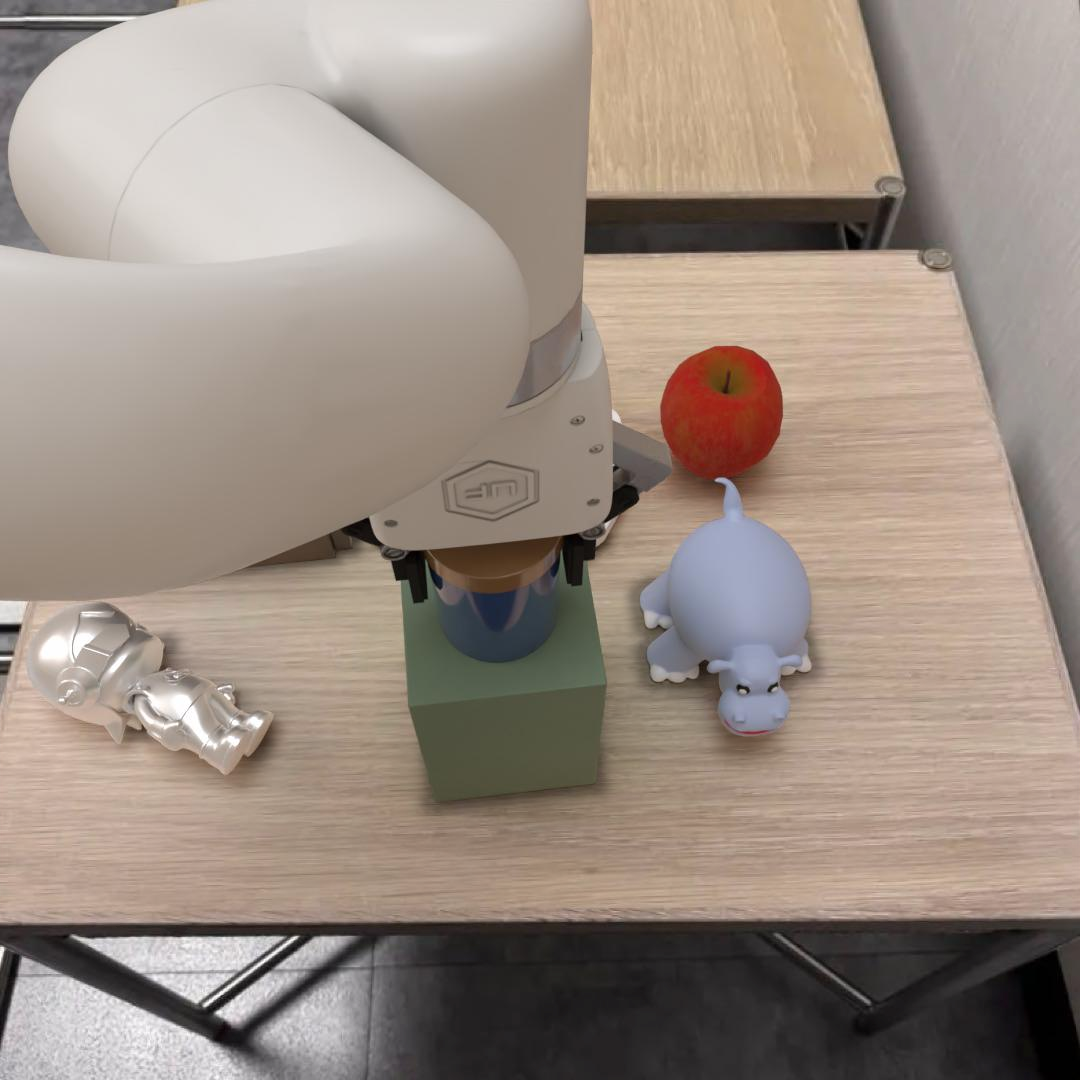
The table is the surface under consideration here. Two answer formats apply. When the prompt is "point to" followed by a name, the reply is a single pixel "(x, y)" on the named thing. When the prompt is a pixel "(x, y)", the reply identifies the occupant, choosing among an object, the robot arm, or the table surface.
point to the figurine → (137, 686)
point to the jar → (497, 596)
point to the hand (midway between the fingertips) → (495, 567)
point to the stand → (507, 703)
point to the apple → (722, 411)
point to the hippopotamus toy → (733, 616)
